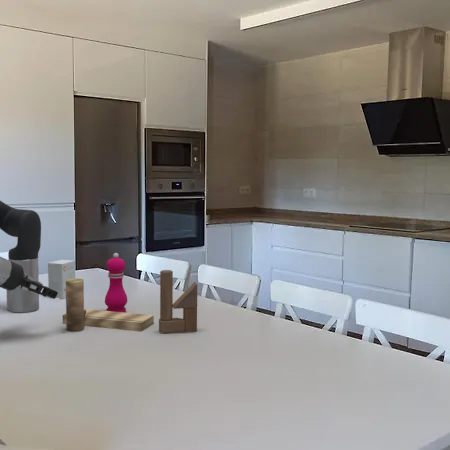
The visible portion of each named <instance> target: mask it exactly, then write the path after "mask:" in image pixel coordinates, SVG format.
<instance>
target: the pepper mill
mask: <svg viewBox="0 0 450 450" xmlns="http://www.w3.org/2000/svg"><path fill="white" fill-rule="evenodd" d="M106 270H107V271H108V273H107V275H108V278H109V286H108V290H107V292H106V295H105V298H104V304H105V306H106V307H107V308H106V310H105V311H113V312H124V313H127V307H125V306H126V305H127V304H128V296H127V293H126V291H125V289H124V285H123V278H124V277H125V275H124V274H125V272H124V270H126V261H124V259H123V258H120V257H119V253H118V252H115V253H113V254H112V257H111V258H110V259H108V260H107V262H106Z"/></svg>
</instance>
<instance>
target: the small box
mask: <svg viewBox="0 0 450 450" xmlns="http://www.w3.org/2000/svg"><path fill="white" fill-rule="evenodd" d="M47 278H48V279H47V280H48V283H47V284H48V285H47V287H48V288H50V289H52V290H55V291H57V292H58V294H57V296H56V298H59V299H58V300H65V299H66V280H68V279H76V260H72V259H57V260H55V261H54V260H53V261H50V262H47ZM64 298H65V299H64Z"/></svg>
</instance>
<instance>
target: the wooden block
mask: <svg viewBox="0 0 450 450" xmlns="http://www.w3.org/2000/svg"><path fill="white" fill-rule="evenodd" d="M159 275H160V276H159V277H160V278H159V279H160V280H159V281H160V282H159V283H160V284H159V285H160V286H159V290H160V291H159V293H160V296H159V297H160V299H159V303H160V304H159V309H160V310H159V313H160V314H159V315H160V316H159V319H158V331H159V333H160V334H175V333H176V334H177V333H193V332H194V333H195V332H197V331H198V283H197V282H196V281H194V282H193V283H191V285H190V286H189V287H188V288H187V289H186V290H185V291H184V292H183V293H182V294H181V295H180V296H179V297H178V298H177V299H176V300H175V302H173V297H174V296H173V294H174V293H173V290H174V289H173V288H174V287H173V286H174V284H173V281H174V279H173V278H174V273H173V270H171V269H162V270H161V271H160V274H159ZM176 309H177V310H178V309H182V312H183V313H182V318H181V317H180V318H179V317H173V313H174V312H173V310H176Z"/></svg>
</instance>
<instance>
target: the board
mask: <svg viewBox="0 0 450 450" xmlns="http://www.w3.org/2000/svg"><path fill="white" fill-rule="evenodd" d="M84 310H86V314H85V316H84V327H85V326H89V327H94V328H95V327H98V328H108V329H116V330H127V331H134V332H135V331H136V332H142V331H144V330H146V329H147V328H148V327H150V326H152V325H153V324H154V323H155V321H154V320H155V317H154V316H155V315H154V314H145V313H144V314H143V313H135V312H134V313H133V312H126V313H124V312H113V311H106V310H102V309H101V310H100V309H88V308H84ZM65 323H66V313H65V314H63V315H62V324H65Z"/></svg>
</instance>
